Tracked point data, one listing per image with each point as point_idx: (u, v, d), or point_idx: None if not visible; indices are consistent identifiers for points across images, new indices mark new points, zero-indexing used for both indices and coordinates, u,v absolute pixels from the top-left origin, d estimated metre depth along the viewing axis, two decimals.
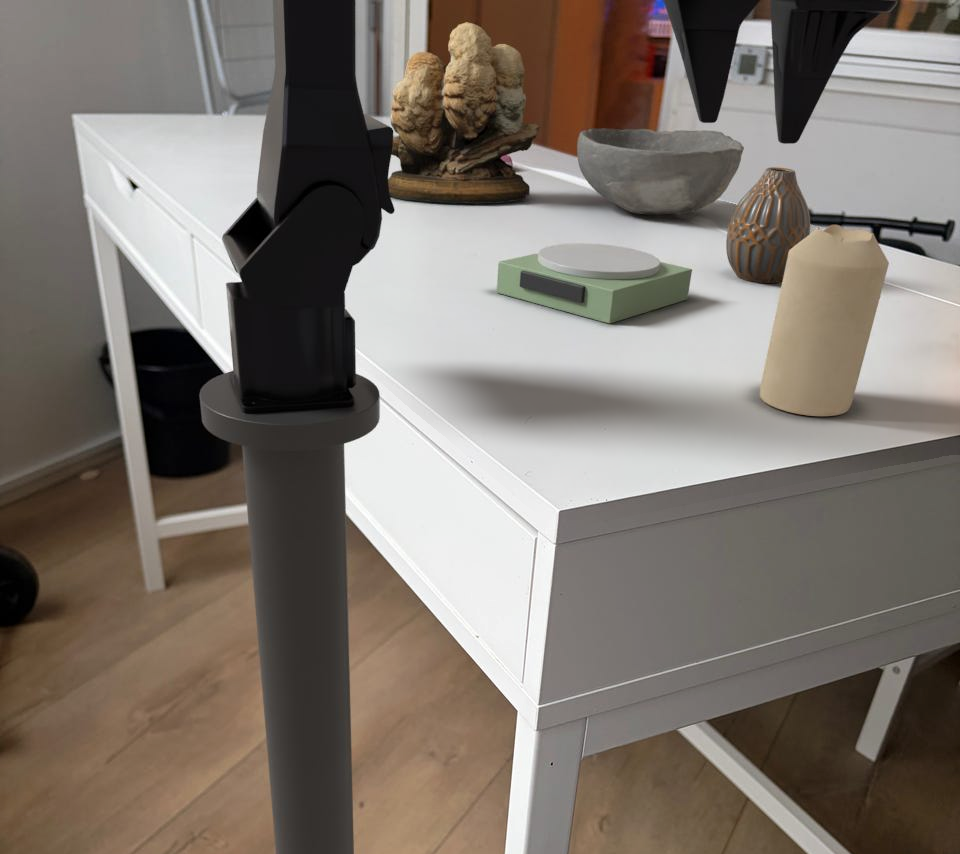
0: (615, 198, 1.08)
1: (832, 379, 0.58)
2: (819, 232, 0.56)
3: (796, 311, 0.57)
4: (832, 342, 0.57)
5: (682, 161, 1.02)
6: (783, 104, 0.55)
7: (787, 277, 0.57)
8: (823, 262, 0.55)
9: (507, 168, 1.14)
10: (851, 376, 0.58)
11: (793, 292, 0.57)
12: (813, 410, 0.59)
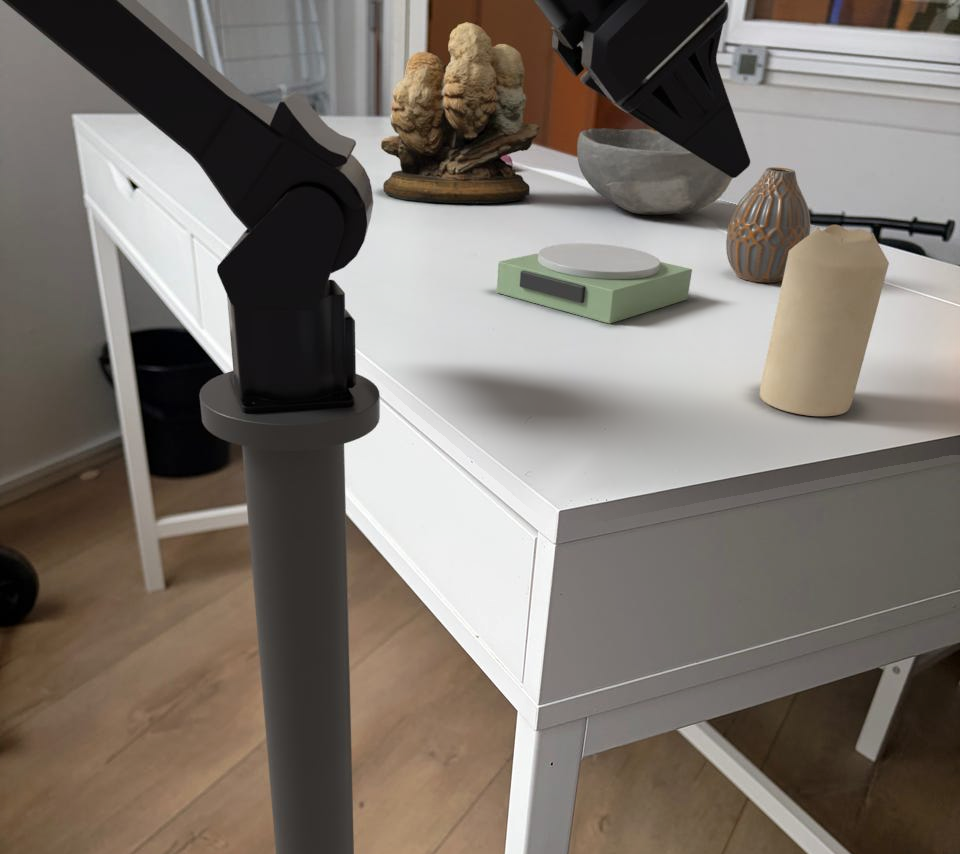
0: (615, 198, 1.08)
1: (832, 379, 0.58)
2: (819, 232, 0.56)
3: (796, 311, 0.57)
4: (832, 342, 0.57)
5: (682, 161, 1.02)
6: (702, 158, 0.49)
7: (787, 277, 0.57)
8: (823, 262, 0.55)
9: (507, 168, 1.14)
10: (851, 376, 0.58)
11: (793, 292, 0.57)
12: (813, 410, 0.59)
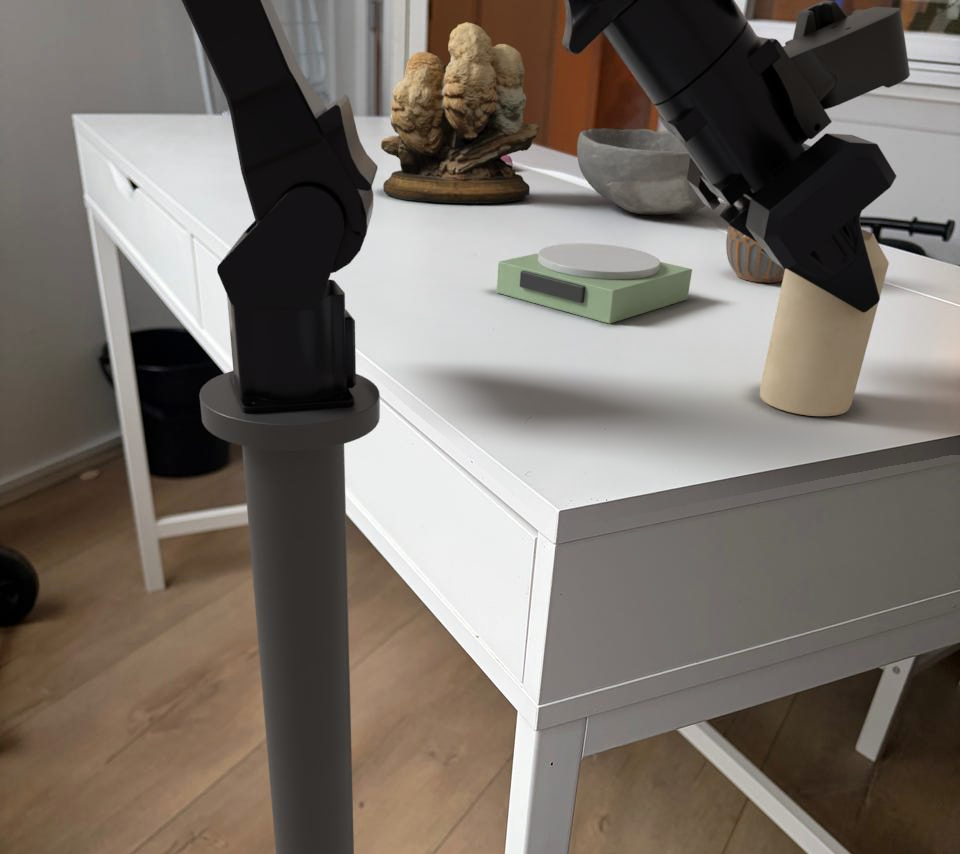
0: (615, 198, 1.08)
1: (832, 379, 0.58)
2: None
3: (796, 311, 0.57)
4: (831, 342, 0.57)
5: (682, 161, 1.02)
6: (838, 297, 0.55)
7: (787, 277, 0.57)
8: None
9: (507, 168, 1.14)
10: (851, 376, 0.58)
11: (793, 292, 0.57)
12: (813, 410, 0.59)
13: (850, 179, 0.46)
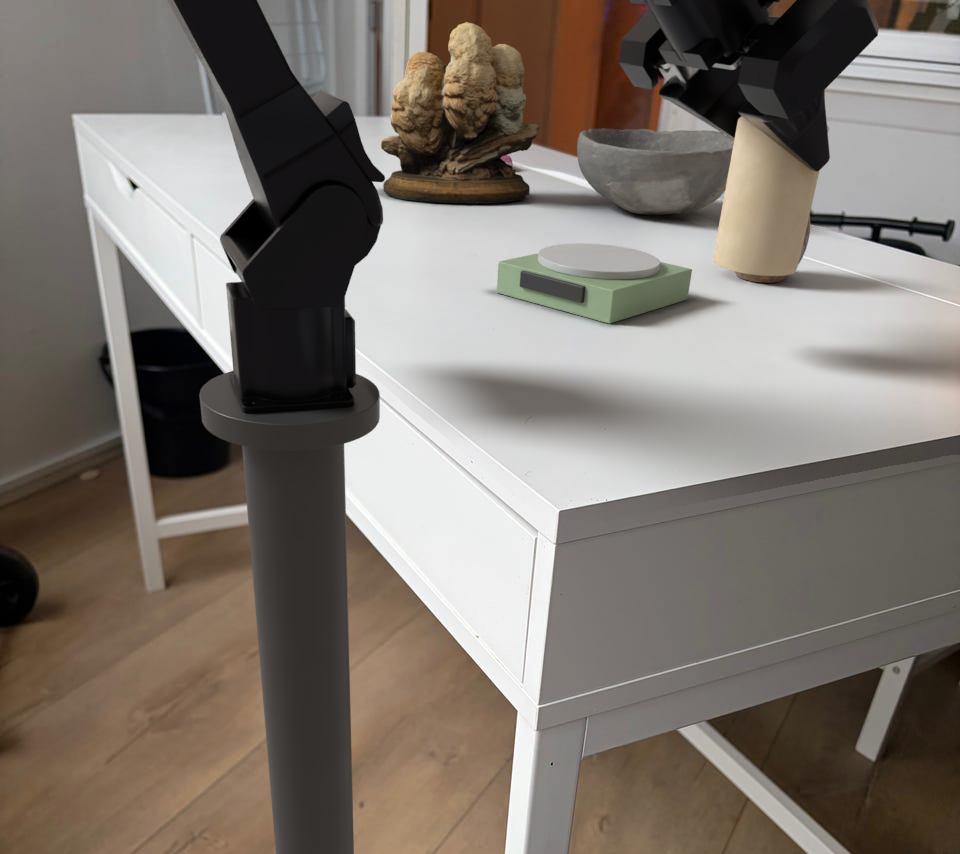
0: (615, 198, 1.08)
1: (789, 239, 0.63)
2: None
3: (756, 175, 0.61)
4: (790, 202, 0.62)
5: (682, 161, 1.02)
6: (800, 156, 0.59)
7: (742, 145, 0.61)
8: None
9: (507, 168, 1.14)
10: (802, 236, 0.64)
11: (752, 157, 0.61)
12: (774, 270, 0.64)
13: (847, 28, 0.50)
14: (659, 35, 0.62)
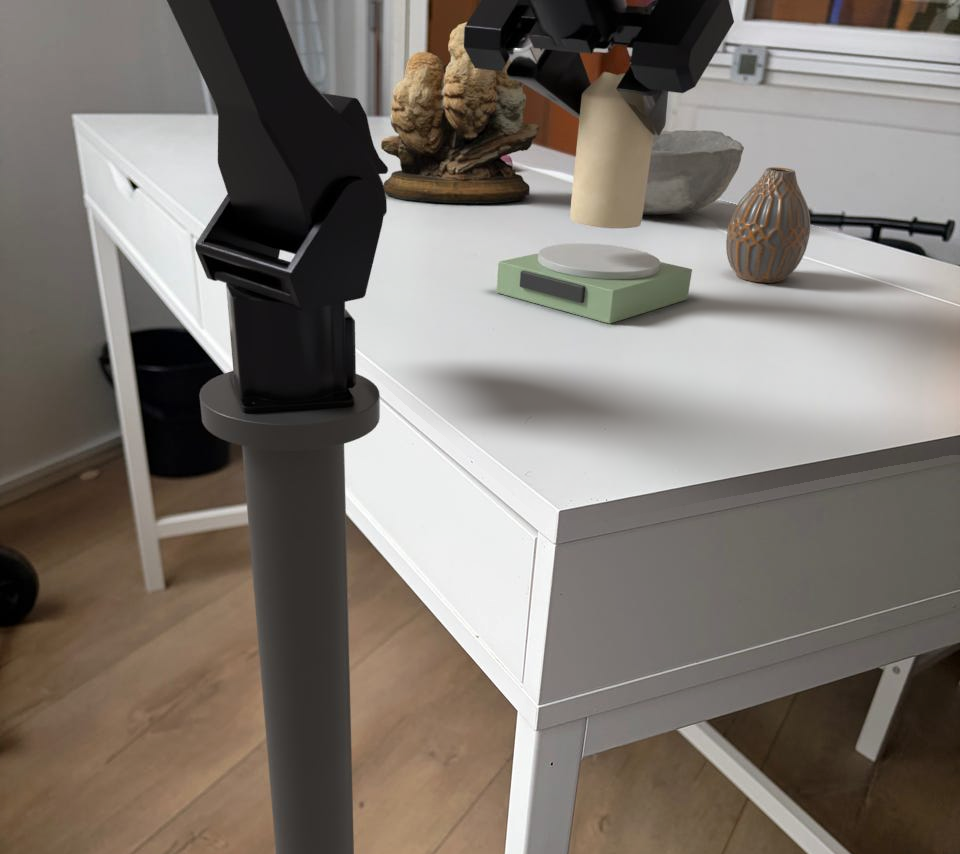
0: None
1: (641, 194, 0.74)
2: (614, 76, 0.70)
3: (614, 142, 0.71)
4: (641, 163, 0.73)
5: (682, 161, 1.02)
6: (652, 124, 0.70)
7: (597, 116, 0.71)
8: None
9: (507, 168, 1.14)
10: (645, 191, 0.75)
11: (609, 127, 0.71)
12: (632, 223, 0.75)
13: (719, 16, 0.62)
14: (509, 22, 0.69)
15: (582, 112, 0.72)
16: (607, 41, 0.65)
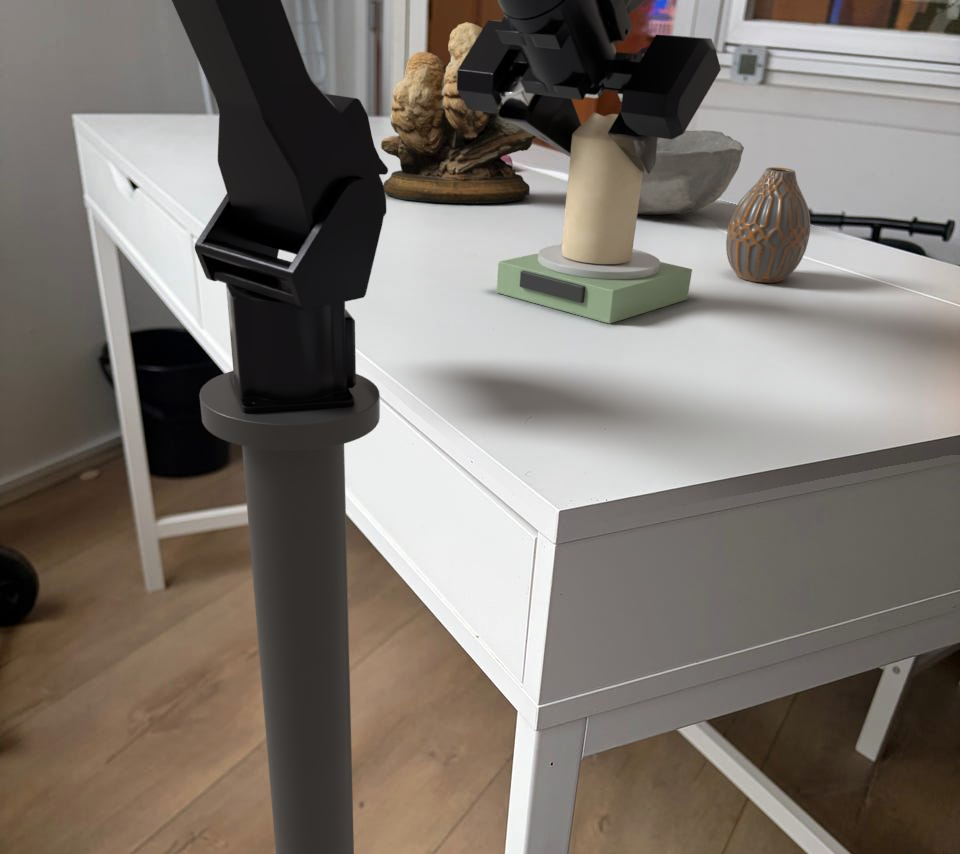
0: None
1: (631, 231, 0.76)
2: (604, 118, 0.72)
3: (605, 182, 0.73)
4: (631, 202, 0.74)
5: (682, 161, 1.02)
6: (643, 164, 0.72)
7: (588, 157, 0.73)
8: None
9: (507, 168, 1.14)
10: (635, 227, 0.77)
11: (599, 167, 0.73)
12: (622, 258, 0.77)
13: (706, 66, 0.63)
14: (501, 66, 0.70)
15: (573, 152, 0.74)
16: (597, 87, 0.67)
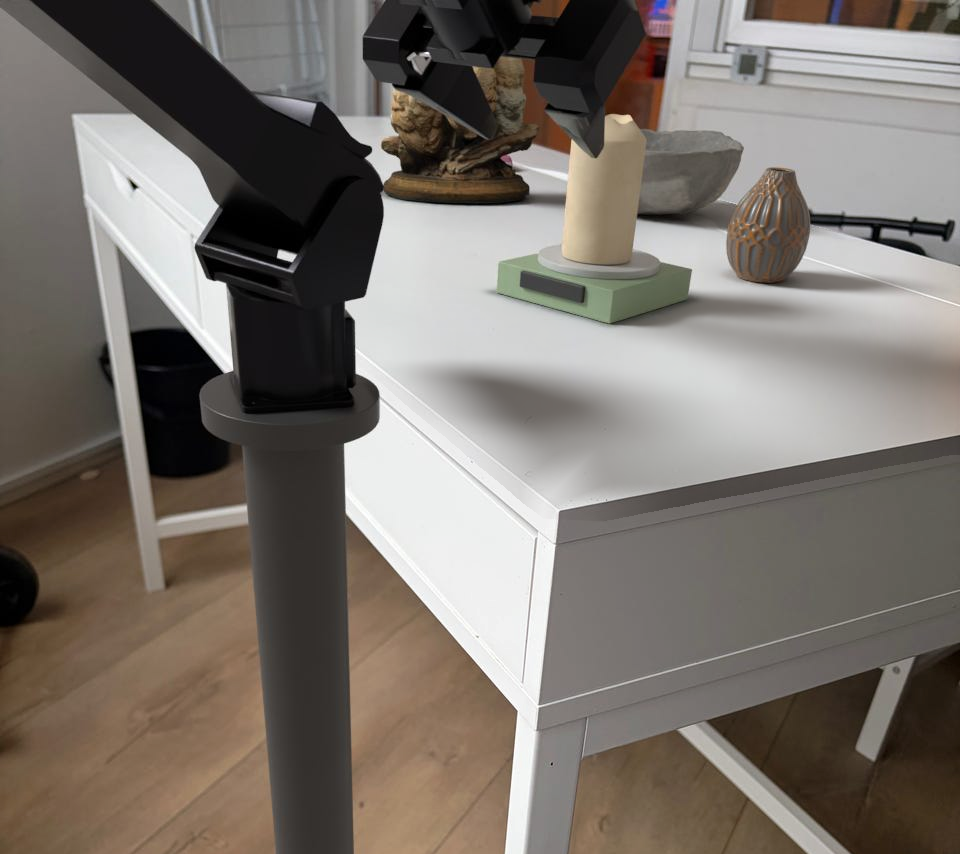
0: None
1: (631, 231, 0.76)
2: None
3: (605, 183, 0.73)
4: (631, 202, 0.74)
5: (682, 161, 1.02)
6: (588, 146, 0.64)
7: (588, 158, 0.73)
8: (622, 140, 0.72)
9: (507, 168, 1.14)
10: None
11: (599, 168, 0.73)
12: (622, 259, 0.77)
13: (627, 29, 0.56)
14: (408, 32, 0.63)
15: (572, 153, 0.74)
16: None
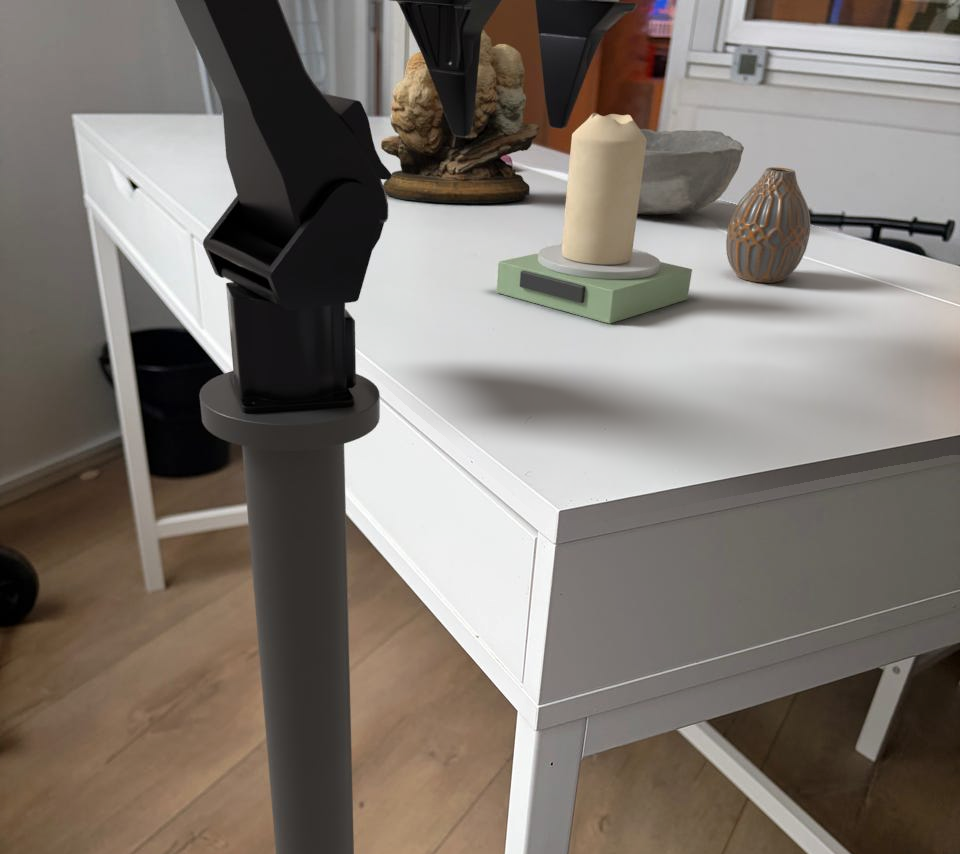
0: None
1: (631, 231, 0.76)
2: (604, 118, 0.72)
3: (605, 183, 0.73)
4: (631, 202, 0.74)
5: (682, 161, 1.02)
6: (438, 95, 0.57)
7: (588, 158, 0.73)
8: (622, 140, 0.72)
9: (507, 168, 1.14)
10: None
11: (599, 168, 0.73)
12: (622, 259, 0.77)
13: None
14: None
15: (572, 153, 0.74)
16: None
